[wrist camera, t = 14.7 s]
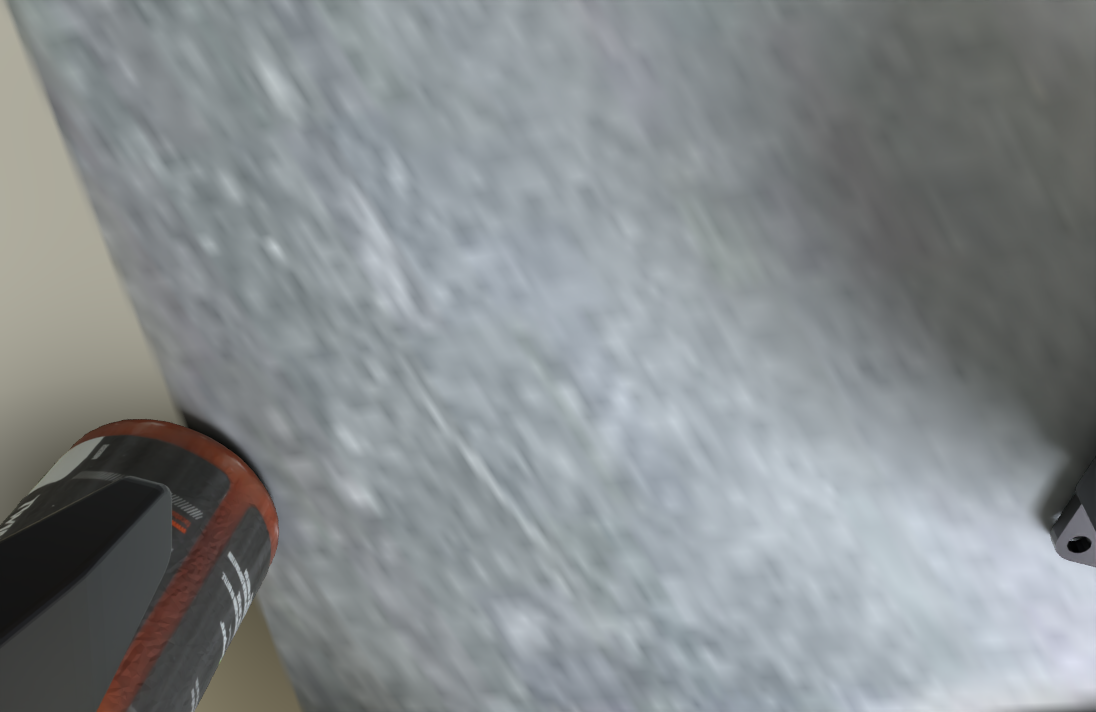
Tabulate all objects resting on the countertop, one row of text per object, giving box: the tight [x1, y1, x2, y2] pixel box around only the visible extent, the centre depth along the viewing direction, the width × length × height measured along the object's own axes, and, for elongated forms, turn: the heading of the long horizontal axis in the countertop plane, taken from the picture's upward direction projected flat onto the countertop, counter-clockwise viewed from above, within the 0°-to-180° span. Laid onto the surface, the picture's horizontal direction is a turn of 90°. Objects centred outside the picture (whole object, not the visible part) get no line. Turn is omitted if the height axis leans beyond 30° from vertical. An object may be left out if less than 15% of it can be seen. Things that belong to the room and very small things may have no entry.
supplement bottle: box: [0, 419, 279, 712], centre depth 21 cm, size 6×6×11 cm
